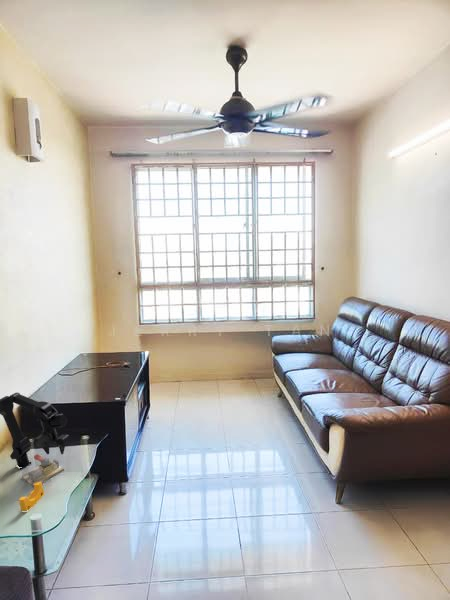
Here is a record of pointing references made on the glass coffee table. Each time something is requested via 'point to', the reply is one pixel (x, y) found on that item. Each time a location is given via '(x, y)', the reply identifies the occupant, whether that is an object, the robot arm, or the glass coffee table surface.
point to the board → (43, 478)
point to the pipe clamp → (32, 497)
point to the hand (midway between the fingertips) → (55, 454)
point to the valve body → (43, 471)
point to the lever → (42, 460)
